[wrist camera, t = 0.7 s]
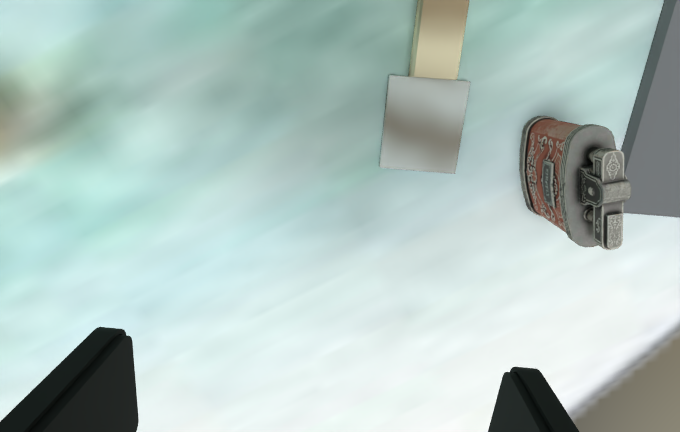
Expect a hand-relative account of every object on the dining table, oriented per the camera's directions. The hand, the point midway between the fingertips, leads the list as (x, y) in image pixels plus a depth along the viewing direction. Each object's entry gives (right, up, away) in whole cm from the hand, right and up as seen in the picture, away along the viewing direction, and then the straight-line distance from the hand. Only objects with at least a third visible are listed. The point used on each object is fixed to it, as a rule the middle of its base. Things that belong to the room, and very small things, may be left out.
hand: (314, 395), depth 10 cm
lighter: (+17, +9, +23) cm, 30 cm away
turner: (+8, +17, +20) cm, 28 cm away
